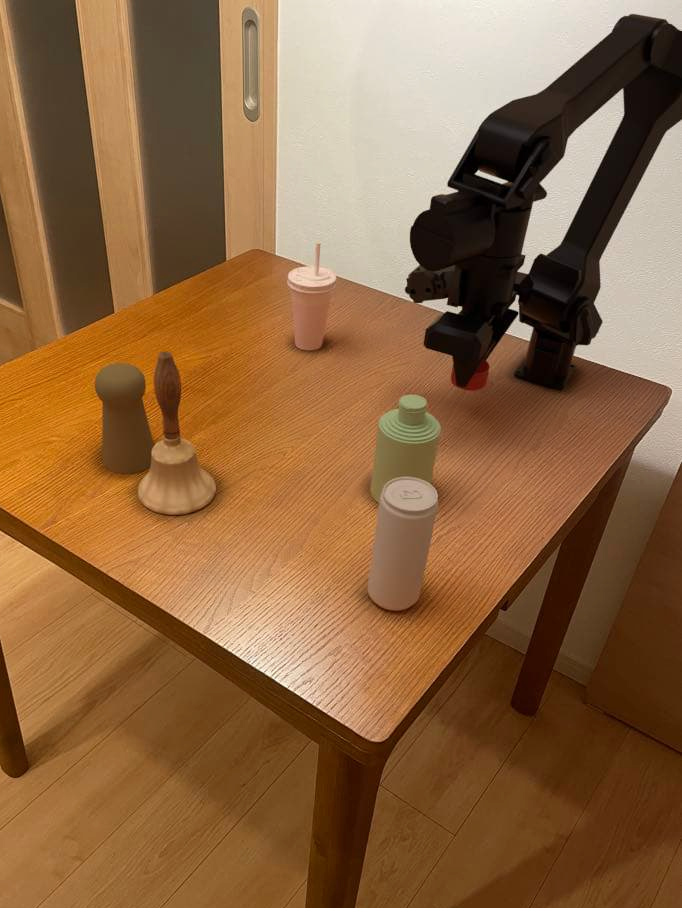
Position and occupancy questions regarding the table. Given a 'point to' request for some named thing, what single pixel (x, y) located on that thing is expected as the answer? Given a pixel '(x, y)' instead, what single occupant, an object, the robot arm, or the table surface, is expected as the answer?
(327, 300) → the smoothie
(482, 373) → the bottle cap
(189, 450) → the hand bell
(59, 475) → the table surface
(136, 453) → the cork
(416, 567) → the beverage can
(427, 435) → the sauce bottle
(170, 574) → the table surface
